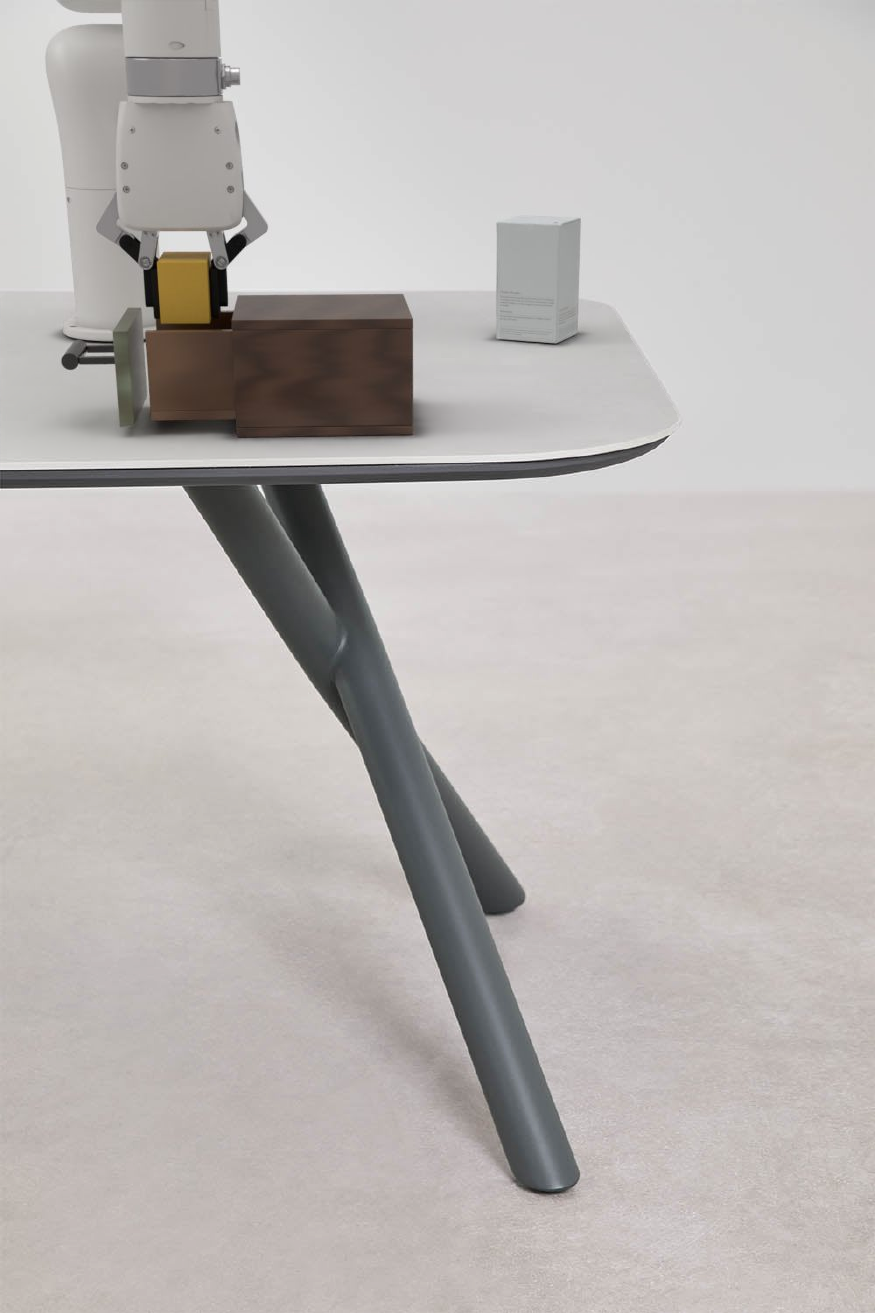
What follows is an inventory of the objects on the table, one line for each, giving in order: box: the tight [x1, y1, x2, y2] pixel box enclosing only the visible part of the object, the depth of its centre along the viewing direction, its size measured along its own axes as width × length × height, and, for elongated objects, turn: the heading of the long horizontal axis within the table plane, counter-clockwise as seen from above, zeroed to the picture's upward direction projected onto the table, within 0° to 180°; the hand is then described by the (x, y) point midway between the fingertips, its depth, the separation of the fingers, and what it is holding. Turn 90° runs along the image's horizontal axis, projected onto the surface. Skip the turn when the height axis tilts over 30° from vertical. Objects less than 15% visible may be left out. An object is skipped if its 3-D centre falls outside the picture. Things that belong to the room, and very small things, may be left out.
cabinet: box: [231, 293, 414, 438], centre depth 128 cm, size 15×13×10 cm
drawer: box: [60, 308, 236, 428], centre depth 127 cm, size 18×11×8 cm, turn 95°
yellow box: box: [157, 251, 212, 324], centre depth 125 cm, size 6×4×5 cm, turn 5°
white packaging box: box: [495, 214, 582, 344], centre depth 164 cm, size 7×7×13 cm
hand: (187, 313), depth 126 cm, fingers closed on yellow box, 4 cm apart
